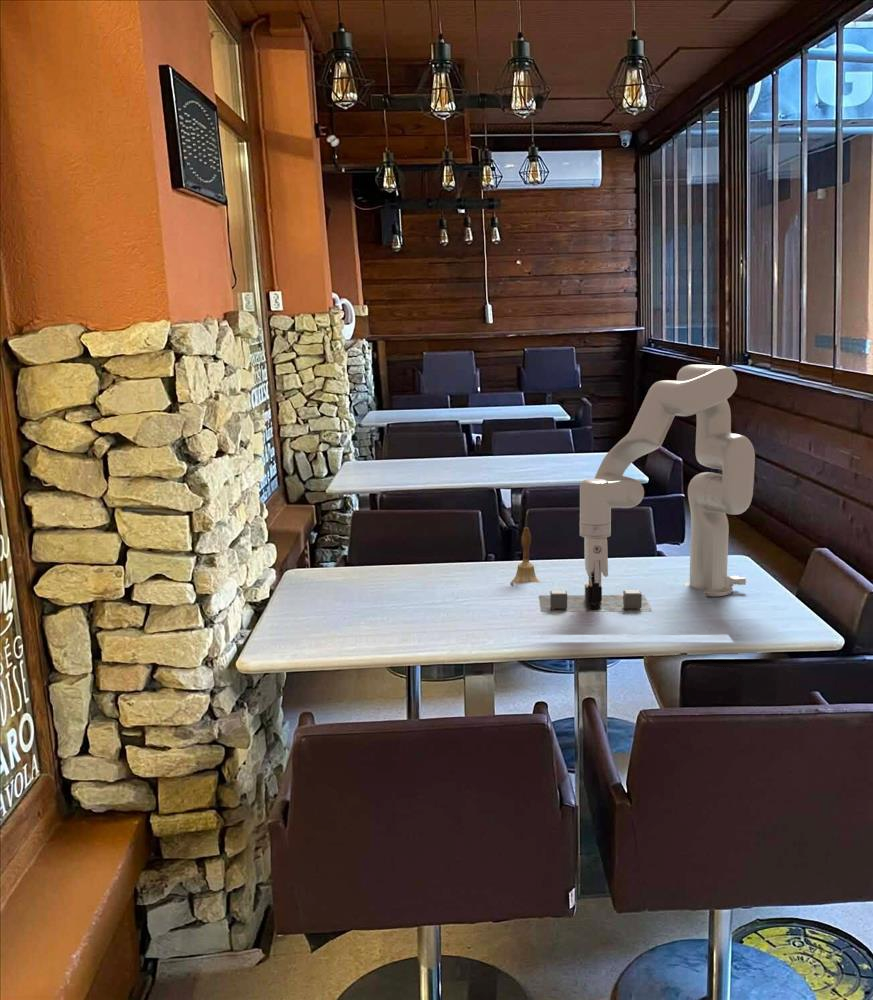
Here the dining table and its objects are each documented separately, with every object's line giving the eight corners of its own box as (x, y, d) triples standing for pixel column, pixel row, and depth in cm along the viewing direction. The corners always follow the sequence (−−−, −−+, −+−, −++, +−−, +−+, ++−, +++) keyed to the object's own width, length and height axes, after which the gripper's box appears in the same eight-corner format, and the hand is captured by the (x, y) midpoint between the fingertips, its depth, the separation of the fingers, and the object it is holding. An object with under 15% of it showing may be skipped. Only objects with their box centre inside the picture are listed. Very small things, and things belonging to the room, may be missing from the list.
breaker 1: (566, 604, 235) (566, 590, 234) (567, 608, 231) (567, 593, 231) (550, 604, 235) (550, 590, 234) (550, 608, 232) (550, 593, 231)
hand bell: (540, 579, 265) (540, 524, 262) (540, 587, 257) (540, 530, 254) (511, 579, 266) (510, 524, 263) (510, 587, 258) (509, 530, 255)
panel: (644, 600, 243) (644, 594, 242) (652, 617, 229) (652, 611, 229) (538, 601, 245) (538, 595, 244) (540, 617, 231) (540, 611, 231)
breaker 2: (639, 604, 233) (639, 589, 233) (641, 608, 230) (641, 593, 229) (623, 604, 234) (623, 589, 233) (624, 608, 230) (625, 593, 230)
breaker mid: (600, 597, 240) (600, 583, 239) (601, 601, 237) (601, 586, 236) (584, 597, 240) (584, 583, 239) (585, 601, 237) (585, 586, 236)
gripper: (614, 535, 224) (613, 610, 227) (607, 522, 238) (606, 592, 242) (582, 536, 224) (582, 610, 227) (577, 523, 239) (577, 593, 242)
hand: (594, 601), depth 235 cm, fingers closed
